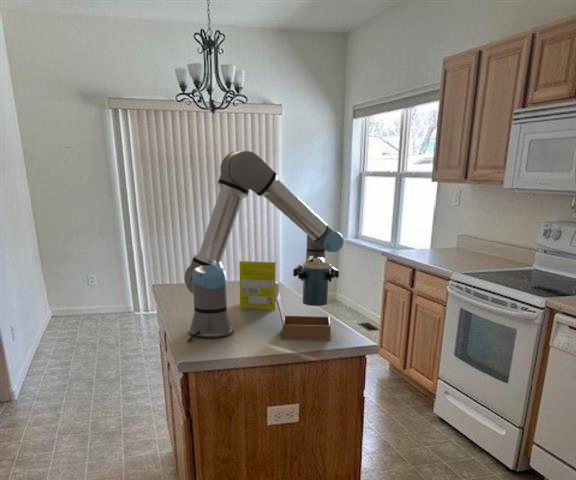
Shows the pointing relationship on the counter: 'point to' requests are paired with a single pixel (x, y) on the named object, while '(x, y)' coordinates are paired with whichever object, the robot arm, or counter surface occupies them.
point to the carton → (306, 327)
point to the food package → (257, 284)
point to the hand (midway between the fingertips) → (316, 277)
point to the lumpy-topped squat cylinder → (276, 289)
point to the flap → (280, 307)
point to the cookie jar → (315, 283)
